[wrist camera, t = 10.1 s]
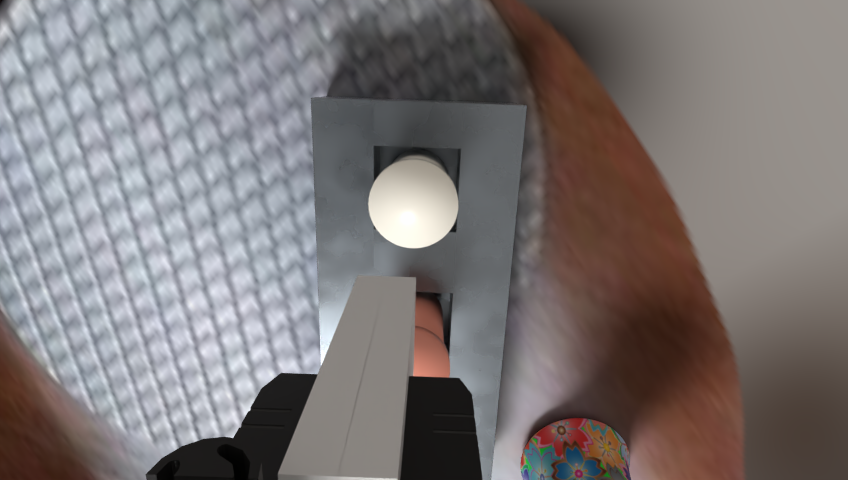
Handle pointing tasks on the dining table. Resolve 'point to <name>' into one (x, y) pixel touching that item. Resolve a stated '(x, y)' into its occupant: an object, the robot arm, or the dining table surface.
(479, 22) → the dining table surface
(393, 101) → the plug board
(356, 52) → the dining table surface
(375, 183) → the cream plug
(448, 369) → the plug red
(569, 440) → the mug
